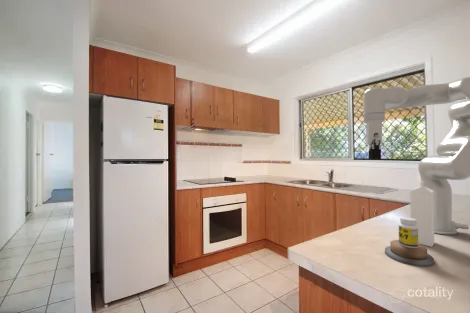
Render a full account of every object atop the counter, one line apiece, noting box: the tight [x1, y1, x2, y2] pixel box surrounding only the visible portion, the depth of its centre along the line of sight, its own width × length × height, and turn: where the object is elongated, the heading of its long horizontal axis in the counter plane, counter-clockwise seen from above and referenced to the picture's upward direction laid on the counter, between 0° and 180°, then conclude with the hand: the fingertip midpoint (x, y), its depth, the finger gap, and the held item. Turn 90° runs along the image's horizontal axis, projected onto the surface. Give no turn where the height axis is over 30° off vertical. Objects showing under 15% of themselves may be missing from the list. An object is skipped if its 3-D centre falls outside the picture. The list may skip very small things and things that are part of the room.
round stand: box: [384, 239, 435, 267], centre depth 68 cm, size 12×12×4 cm
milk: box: [409, 181, 435, 247], centre depth 80 cm, size 6×6×22 cm
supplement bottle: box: [398, 216, 418, 248], centre depth 68 cm, size 5×5×8 cm
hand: (374, 159), depth 91 cm, fingers open, 9 cm apart
